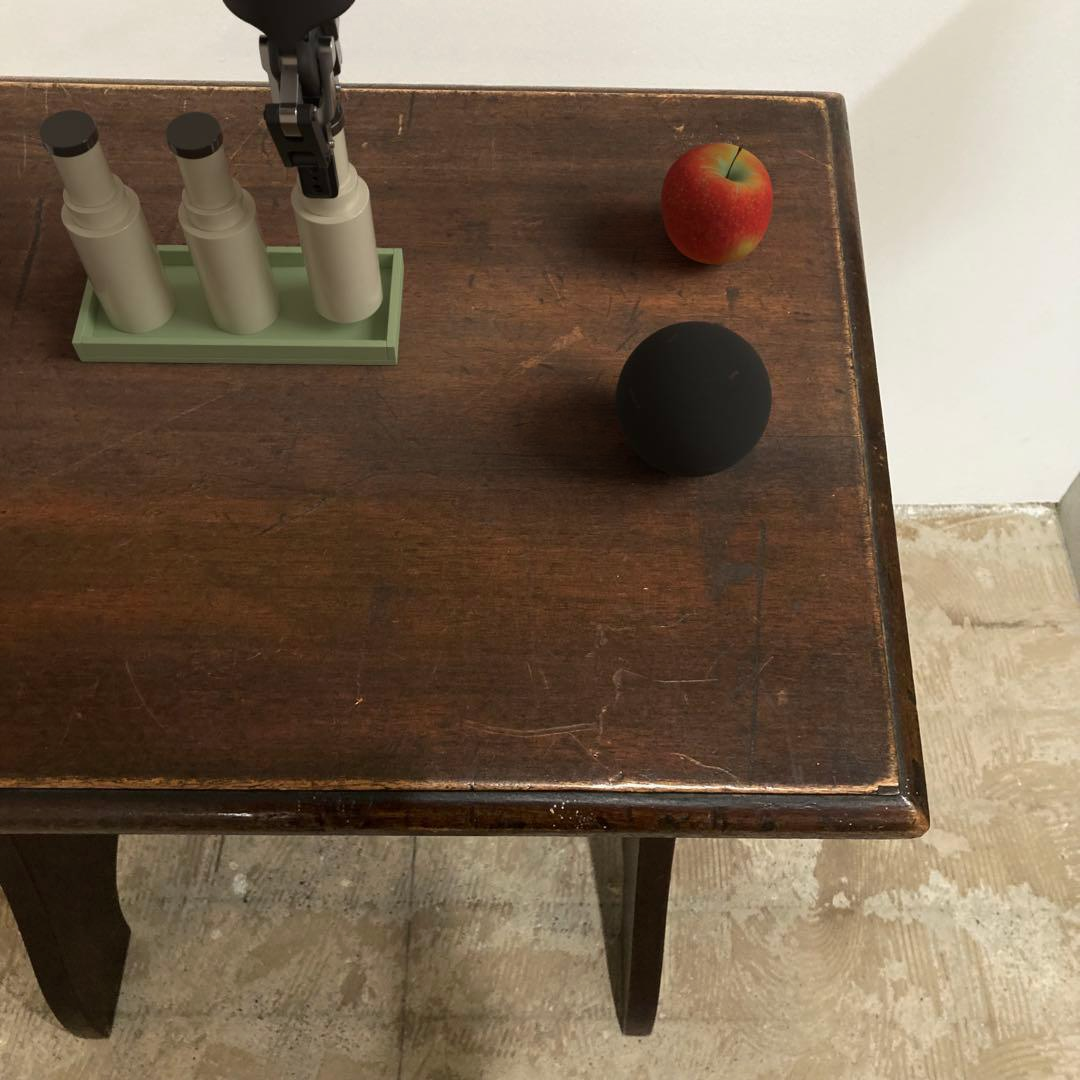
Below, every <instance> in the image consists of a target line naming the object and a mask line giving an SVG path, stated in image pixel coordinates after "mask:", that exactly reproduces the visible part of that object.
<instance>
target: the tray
mask: <svg viewBox="0 0 1080 1080" xmlns="http://www.w3.org/2000/svg"><path fill="white" fill-rule="evenodd" d="M156 246H157V249H158V251H159V254H160V257H161V259H162V262H163V265H164V267H165V270H166V273H167V275H168V278H169V281H170V283H171V286H172V289H173V291H174V294H175V297H176V308H175V311H174V313H173V315H172V317H171V318H170V319H169V320H168V321H167V322H166V323H165V324H164V325H162V326H161V327H159V328H157V329H155V330H152V331H149V332H145V333H127V332H123V331H121V330H118V329H117V328H115V327H114V326H113V325H111V323H110V322H109V321H108V319H107V317H106V315H105V313H104V310H103V308H102V306H101V304H100V302H99V300H98V297H97V295H96V293H95V291H94V289H93V287H92V284H91V282H90V280H89V278H88V277H87V280H86V283H85V288H84V291H83V296H82V301H81V304H80V308H79V312H78V316H77V320H76V325H75V328H74V332H73V336H72V341H71V345H72V346H73V349H74V350H75V352H76V354H77V356H78V358H79V359H80V361H81V362H82V363H84V362H85V363H159V364H162V363H164V364H165V363H167V364H170V363H171V364H242V365H243V364H247V365H248V364H249V365H250V364H251V365H264V364H265V365H327V366H328V365H333V366H335V365H336V366H397V365H398V358H399V343H400V329H401V316H402V302H403V287H404V275H405V264H404V255H403V248H401V247H377V253H378V260H379V267H380V274H381V282H382V289H383V299H382V302H381V305H380V306H379V308H378V309H377V311H376V312H375V313H373V314H372V315H371V316H369V317H368V318H366V319H364V320H361V321H358V322H354V323H338V322H333V321H330V320H328V319H326V318H324V317H323V316H322V315H320V314H319V313H318V312H317V310H316V309H315V307H314V305H313V301H312V296H311V292H310V287H309V283H308V278H307V273H306V269H305V264H304V260H303V255H302V250H301V246H275V245H274V246H269V245H266V247H267V251H268V255H269V259H270V263H271V267H272V270H273V274H274V278H275V282H276V286H277V290H278V294H279V298H280V302H281V308H280V312H279V315H278V317H277V318H276V320H275V321H274V322H273V323H272V324H271V325H270V326H268V327H267V328H265V329H264V330H262V331H259V332H257V333H253V334H247V335H237V334H232V333H228V332H226V331H224V330H222V329H221V328H219V327H218V326H217V325H216V324H215V322H214V321H213V319H212V317H211V314H210V311H209V308H208V305H207V302H206V299H205V296H204V293H203V290H202V287H201V284H200V281H199V278H198V276H197V273H196V270H195V267H194V264H193V261H192V258H191V255H190V252H189V249H188V246H187V244H156Z"/></svg>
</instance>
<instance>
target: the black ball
mask: <svg viewBox="0 0 1080 1080" xmlns="http://www.w3.org/2000/svg"><path fill="white" fill-rule="evenodd" d="M772 393H773V392H772V385H771V380H770V375H769V373H768V370H767V368H766V365H765V363H764V361H763V359H762V358H761V356H760V354H759V353H758V352H757V350H756V349H755V348H754V347H753V346H752V345H751V344H750V342H749V341H747V340H746V339H745V338H744V337H743V336H741V335H740V334H738V333H737V332H735V331H734V330H732V329H729V328H728V327H725V326H723V325H720V324H717V323H714V322H708V321H700V320H699V321H698V320H690V321H689V320H687V321H681V322H677V323H673V324H669V325H667V326H665V327H662V328H660V329H658V330H656V331H654V332H653V333H651V334H650V335H648V336H647V337H645V338H644V339H643V340H642V341H641V342H640V343H639V344H638V345H637V346H636V347H635V348H634V349H633V351H632V352H631V353H630V354H629V356H628V357H627V358H626V361H625V362H624V365H623V367H622V369H621V371H620V373H619V377H618V380H617V384H616V390H615V411H616V417H617V421H618V424H619V427H620V430H621V432H622V435H623V436H624V438H625V440H626V442H627V443H628V445H629V446H630V447H631V449H632V450H633V451H634V452H635V454H637V455H638V456H639V457H640V458H641V459H642V460H643V461H644V462H645V463H647V464H649V465H650V466H651V467H653V468H655V469H657V470H659V471H661V472H664V473H666V474H669V475H673V476H677V477H683V478H701V477H708V476H713V475H715V474H719V473H721V472H724V471H727V470H728V469H730V468H731V467H734V466H735V465H737V464H738V463H740V462H741V461H742V460H744V459H745V458H746V457H747V456H748V455H749V454H750V453H751V452H752V451H753V450H754V449H755V447H756V446H757V444H758V443H759V442H760V440H761V438H762V437H763V435H764V432H765V431H766V428H767V426H768V423H769V420H770V416H771V411H772V402H773V397H772V396H773V395H772Z"/></svg>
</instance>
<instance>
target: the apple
mask: <svg viewBox="0 0 1080 1080" xmlns="http://www.w3.org/2000/svg"><path fill="white" fill-rule="evenodd" d="M772 185H773V184H772V181H771V177H770V174H769V173H768V170H767V168H766V167H765V165H764V164H763V163H762V162H761V160H760V159H759V158H758V157H756V156H755V155H754V154H753V153H751V152H750V151H748V150H746V149H745V148H744V144H741V145H739V146H738V145H735V144H732V143H729V142H709V143H705V144H702V145H698V146H695V147H693V148H691V149H689V150H687V151H686V152H684V153H683V154H682V155H680V156H679V157H678V158H677V159H676V160H675V161H674V162H673V163H672V164H671V165H670V166H669V168H668V170H667V173H666V174H665V176H664V179H663V183H662V188H661V193H660V198H661V199H660V209H661V216H662V221H663V225H664V228H665V231H666V234H667V235H668V237H669V239H670V241H671V243H672V244H673V245H674V247H675V248H676V249H677V250H678V252H679V253H681V254H682V255H683V256H685V257H687V258H688V259H690V260H693V261H695V262H698V263H700V264H701V263H702V264H707V265H716V266H717V265H727V264H732V263H735V262H738V261H740V260H742V259H743V258H746V257H747V256H748V255H749V254H750V253H751V252H753V251H754V250H755V249H756V247H757V246H758V245H759V244H760V243H761V241H762V239H763V237H764V235H765V234H766V232H767V230H768V226H769V224H770V221H771V217H772V213H773V212H772V211H773V206H774V205H773V204H774V193H773V186H772Z"/></svg>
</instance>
